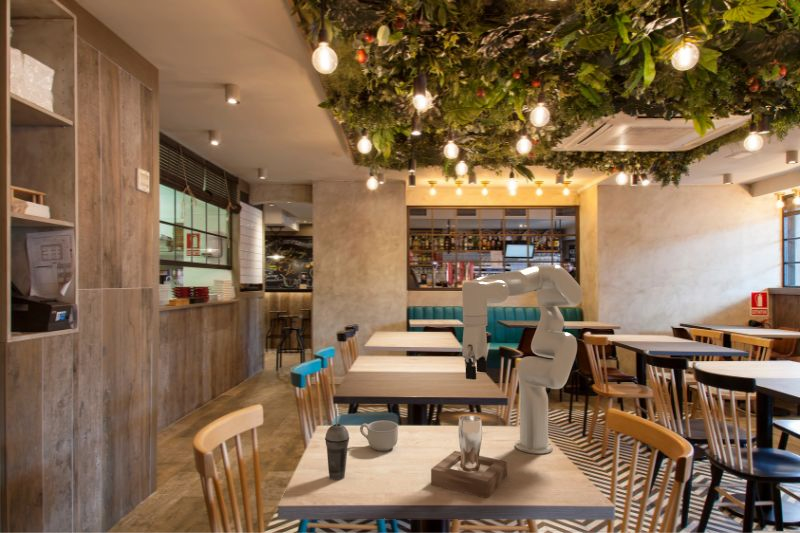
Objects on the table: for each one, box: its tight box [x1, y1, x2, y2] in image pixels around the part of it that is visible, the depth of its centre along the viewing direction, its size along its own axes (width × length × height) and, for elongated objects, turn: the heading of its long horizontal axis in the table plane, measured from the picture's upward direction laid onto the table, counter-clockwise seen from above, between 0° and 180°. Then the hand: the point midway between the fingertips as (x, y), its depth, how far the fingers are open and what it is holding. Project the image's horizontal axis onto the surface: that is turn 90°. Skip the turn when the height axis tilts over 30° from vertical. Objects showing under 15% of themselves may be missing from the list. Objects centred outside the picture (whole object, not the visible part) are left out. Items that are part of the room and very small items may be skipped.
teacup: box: [359, 420, 399, 452], centre depth 174 cm, size 14×11×8 cm
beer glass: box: [457, 414, 483, 473], centre depth 146 cm, size 7×7×15 cm
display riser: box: [430, 450, 508, 499], centre depth 146 cm, size 17×17×4 cm
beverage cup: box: [324, 408, 350, 481], centre depth 148 cm, size 7×7×20 cm
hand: (476, 375), depth 155 cm, fingers open, 9 cm apart
